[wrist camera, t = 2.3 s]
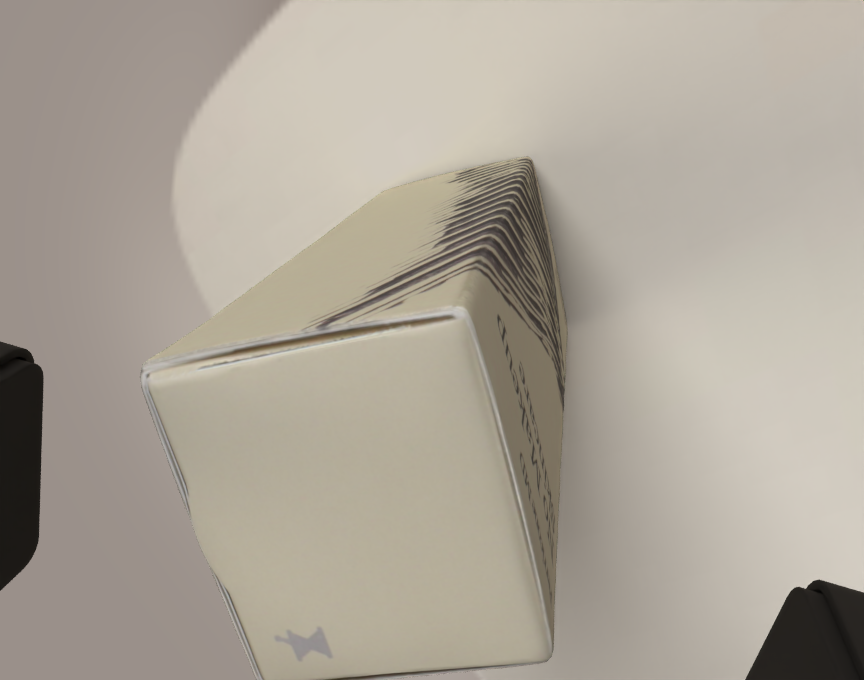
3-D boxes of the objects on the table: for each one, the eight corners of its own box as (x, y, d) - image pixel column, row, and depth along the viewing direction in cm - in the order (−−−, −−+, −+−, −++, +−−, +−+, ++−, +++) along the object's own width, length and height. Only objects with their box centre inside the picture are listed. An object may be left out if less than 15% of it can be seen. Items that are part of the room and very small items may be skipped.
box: (571, 331, 22) (574, 691, 10) (419, 359, 23) (257, 716, 11) (531, 140, 20) (476, 301, 8) (369, 179, 21) (115, 373, 9)
